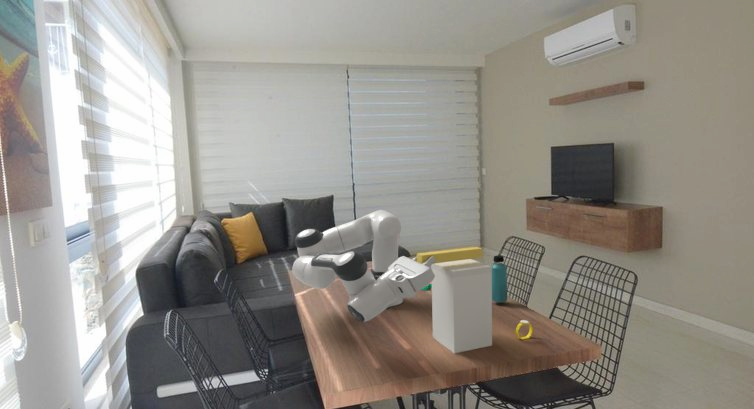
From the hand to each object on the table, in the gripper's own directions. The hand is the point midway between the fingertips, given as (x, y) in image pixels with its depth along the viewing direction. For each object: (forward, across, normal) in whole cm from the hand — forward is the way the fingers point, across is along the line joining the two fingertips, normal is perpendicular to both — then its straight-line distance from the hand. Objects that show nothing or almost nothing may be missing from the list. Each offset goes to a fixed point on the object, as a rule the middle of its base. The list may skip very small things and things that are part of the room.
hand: (430, 256), depth 141 cm
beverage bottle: (+25, -26, -49) cm, 61 cm away
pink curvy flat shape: (+15, -62, -44) cm, 77 cm away
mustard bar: (+5, 0, -5) cm, 7 cm away
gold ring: (+12, +7, -41) cm, 44 cm away
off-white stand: (-5, 0, -31) cm, 32 cm away
